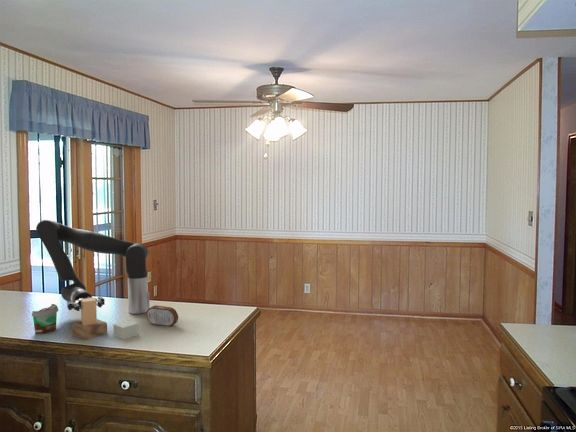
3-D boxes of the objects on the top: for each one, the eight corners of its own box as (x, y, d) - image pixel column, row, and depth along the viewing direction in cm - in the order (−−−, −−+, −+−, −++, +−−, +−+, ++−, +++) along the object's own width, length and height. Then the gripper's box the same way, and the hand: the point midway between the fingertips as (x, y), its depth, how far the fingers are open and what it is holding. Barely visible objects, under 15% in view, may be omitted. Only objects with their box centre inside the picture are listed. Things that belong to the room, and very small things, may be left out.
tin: (178, 325, 201) (178, 307, 201) (174, 328, 198) (174, 309, 198) (150, 322, 206) (149, 304, 206) (145, 324, 203) (145, 306, 203)
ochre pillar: (94, 320, 194) (93, 297, 193) (96, 323, 189) (96, 300, 189) (81, 322, 191) (80, 299, 190) (83, 325, 187) (83, 302, 186)
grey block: (128, 331, 194) (128, 320, 194) (138, 335, 190) (137, 323, 189) (113, 336, 189) (113, 324, 188) (123, 339, 184) (122, 327, 184)
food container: (45, 336, 188) (44, 312, 187) (32, 335, 189) (31, 311, 189) (65, 326, 200) (64, 304, 199) (53, 325, 202) (52, 303, 201)
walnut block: (95, 329, 197) (94, 318, 197) (107, 334, 191) (107, 322, 191) (72, 335, 190) (71, 324, 189) (84, 341, 183) (84, 328, 183)
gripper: (63, 292, 197) (70, 300, 184) (97, 288, 205) (107, 295, 192) (63, 309, 198) (71, 318, 185) (98, 304, 206) (107, 312, 193)
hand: (89, 306), depth 188 cm, fingers open, 8 cm apart
